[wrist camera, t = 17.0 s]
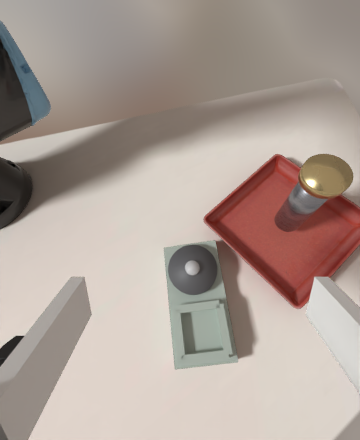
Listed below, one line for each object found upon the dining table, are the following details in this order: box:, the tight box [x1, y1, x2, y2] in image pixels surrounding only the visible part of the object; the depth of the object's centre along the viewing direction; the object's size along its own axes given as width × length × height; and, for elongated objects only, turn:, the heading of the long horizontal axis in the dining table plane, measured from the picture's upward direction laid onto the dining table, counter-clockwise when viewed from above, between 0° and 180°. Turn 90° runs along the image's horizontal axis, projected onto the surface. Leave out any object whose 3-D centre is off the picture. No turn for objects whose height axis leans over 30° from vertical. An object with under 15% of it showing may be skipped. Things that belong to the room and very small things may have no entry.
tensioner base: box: [164, 240, 238, 369], centre depth 31 cm, size 16×8×4 cm, turn 7°
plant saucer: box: [204, 154, 360, 309], centre depth 35 cm, size 18×18×3 cm
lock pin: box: [274, 154, 353, 232], centre depth 28 cm, size 5×5×12 cm
